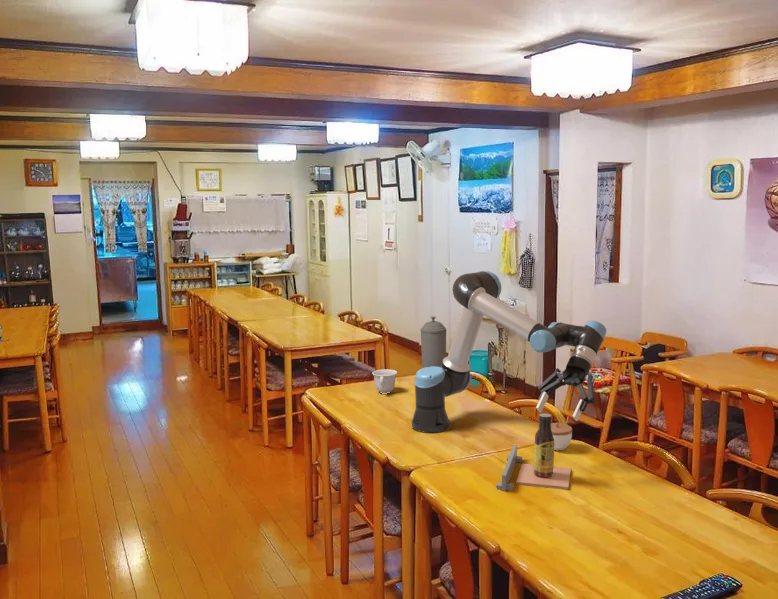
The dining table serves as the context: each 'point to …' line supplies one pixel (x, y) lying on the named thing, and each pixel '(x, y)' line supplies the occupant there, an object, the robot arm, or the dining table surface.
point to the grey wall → (509, 470)
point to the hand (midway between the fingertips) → (556, 414)
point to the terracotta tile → (556, 480)
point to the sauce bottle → (544, 447)
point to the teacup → (384, 379)
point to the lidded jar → (561, 435)
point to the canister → (433, 343)
